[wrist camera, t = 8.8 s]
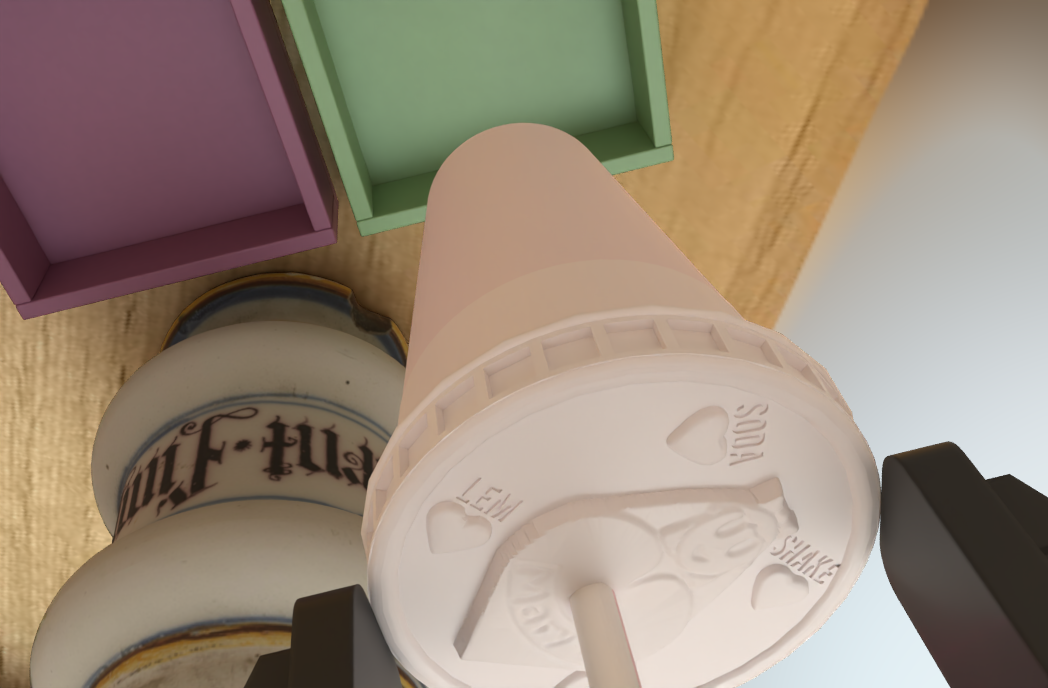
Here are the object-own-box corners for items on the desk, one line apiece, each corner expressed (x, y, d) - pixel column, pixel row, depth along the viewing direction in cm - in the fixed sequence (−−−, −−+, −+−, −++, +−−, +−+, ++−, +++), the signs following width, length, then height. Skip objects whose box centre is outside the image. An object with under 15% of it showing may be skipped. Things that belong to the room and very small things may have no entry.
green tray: (254, -125, 28) (245, -105, 26) (609, -211, 28) (633, -201, 26) (360, 197, 35) (361, 237, 32) (651, 125, 35) (674, 160, 32)
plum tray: (-127, -32, 28) (-175, -3, 26) (228, -118, 28) (216, -98, 26) (47, 273, 34) (23, 321, 32) (338, 202, 35) (337, 243, 32)
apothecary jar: (502, 348, 39) (590, 754, 24) (328, 530, 43) (315, 970, 28) (236, 181, 33) (142, 577, 19) (67, 409, 38) (-117, 877, 23)
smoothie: (292, 153, 18) (191, 963, 7) (599, -13, 17) (1088, 596, 6) (454, 386, 22) (568, 1170, 10) (716, 258, 21) (1158, 963, 9)
